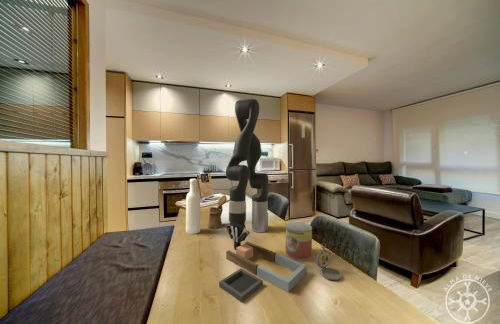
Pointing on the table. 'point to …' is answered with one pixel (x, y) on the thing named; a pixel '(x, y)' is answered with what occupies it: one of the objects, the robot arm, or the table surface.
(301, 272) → the slate bay
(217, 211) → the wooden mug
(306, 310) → the table surface
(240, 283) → the dark gray tray
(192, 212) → the bottle
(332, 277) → the pocket watch
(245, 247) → the terracotta block
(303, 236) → the canned food
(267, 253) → the wooden bars
